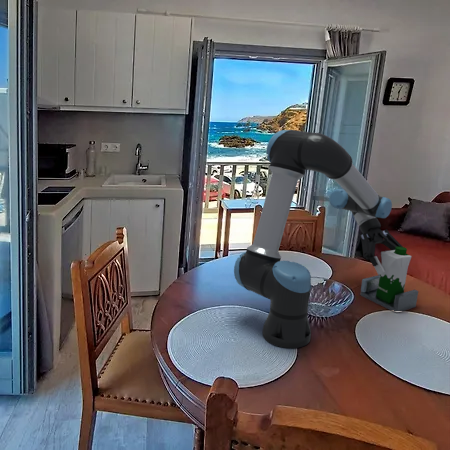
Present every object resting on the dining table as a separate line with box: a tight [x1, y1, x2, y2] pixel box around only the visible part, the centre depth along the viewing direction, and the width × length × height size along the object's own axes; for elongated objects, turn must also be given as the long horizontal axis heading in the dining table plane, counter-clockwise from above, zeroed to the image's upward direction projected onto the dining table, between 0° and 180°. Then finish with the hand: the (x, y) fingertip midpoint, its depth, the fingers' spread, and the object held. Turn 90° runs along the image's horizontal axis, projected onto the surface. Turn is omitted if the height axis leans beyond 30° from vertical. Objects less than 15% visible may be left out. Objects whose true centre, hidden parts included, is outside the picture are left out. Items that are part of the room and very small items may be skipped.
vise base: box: [360, 289, 419, 312], centre depth 167 cm, size 17×11×6 cm, turn 32°
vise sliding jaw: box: [360, 274, 380, 292], centre depth 173 cm, size 2×11×5 cm, turn 122°
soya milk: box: [376, 246, 412, 303], centre depth 164 cm, size 9×9×20 cm
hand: (393, 270), depth 164 cm, fingers open, 13 cm apart
